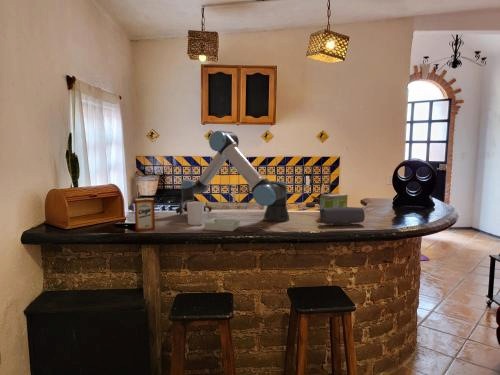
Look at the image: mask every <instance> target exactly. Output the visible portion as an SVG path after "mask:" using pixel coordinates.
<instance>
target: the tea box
mask: <svg viewBox="0 0 500 375" xmlns="http://www.w3.org/2000/svg"><path fill="white" fill-rule="evenodd" d="M319 198H320V199H319V215H318V216H319V219H320V214H321V210H322V209H324V208H334V207H348V195H347V194H341V193H327V194H320V197H319Z"/></svg>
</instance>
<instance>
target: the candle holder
mask: <svg viewBox="0 0 500 375" xmlns="http://www.w3.org/2000/svg"><path fill="white" fill-rule="evenodd" d="M204 206H205V202H204V201H198V200H197V201H195V200H194V202H187V212H186V213H187V224H188V225H190V226H199V225H203V224H204V216H205V214H204V213H205V212H204Z"/></svg>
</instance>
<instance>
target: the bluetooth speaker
mask: <svg viewBox="0 0 500 375" xmlns="http://www.w3.org/2000/svg"><path fill="white" fill-rule="evenodd" d="M319 215H320V218H319V219H320V221H321V223H322V224H325V225H327V224H329V225H332V226H334V225H342V226H352V224H360V223H363V222H364V221H365V211H364V208H363V207H359V206H358V207H355V206H353V207H352V206H347V207H334V208H324V209H322V210H321V214H320V213H319Z"/></svg>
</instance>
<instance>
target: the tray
mask: <svg viewBox="0 0 500 375" xmlns="http://www.w3.org/2000/svg"><path fill="white" fill-rule="evenodd" d="M239 227H241V219H240V218H226V217H225V218H224V217H222V218H220V217H214V218H212V219H209V220H208V221H206V222H204V230H207V231H221V232H222V231H224V232H234V231H235V230H236V229H238V228H239Z"/></svg>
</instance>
